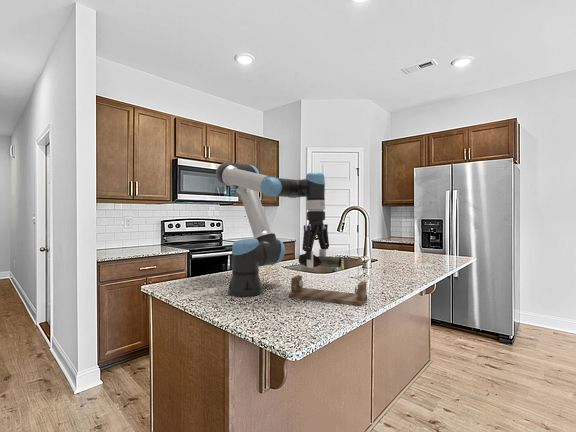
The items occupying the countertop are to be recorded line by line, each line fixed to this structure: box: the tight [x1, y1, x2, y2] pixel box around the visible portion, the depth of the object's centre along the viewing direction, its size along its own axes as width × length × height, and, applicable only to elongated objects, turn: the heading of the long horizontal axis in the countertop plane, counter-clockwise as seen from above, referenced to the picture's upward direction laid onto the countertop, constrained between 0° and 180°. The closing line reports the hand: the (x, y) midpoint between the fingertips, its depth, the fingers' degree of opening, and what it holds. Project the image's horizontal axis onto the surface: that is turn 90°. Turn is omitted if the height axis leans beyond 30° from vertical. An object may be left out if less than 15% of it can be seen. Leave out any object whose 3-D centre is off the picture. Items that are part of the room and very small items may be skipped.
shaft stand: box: [288, 274, 368, 307], centre depth 135 cm, size 30×12×8 cm, turn 65°
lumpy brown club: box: [298, 252, 342, 269], centre depth 132 cm, size 18×7×6 cm, turn 67°
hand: (316, 266), depth 133 cm, fingers closed on lumpy brown club, 8 cm apart
